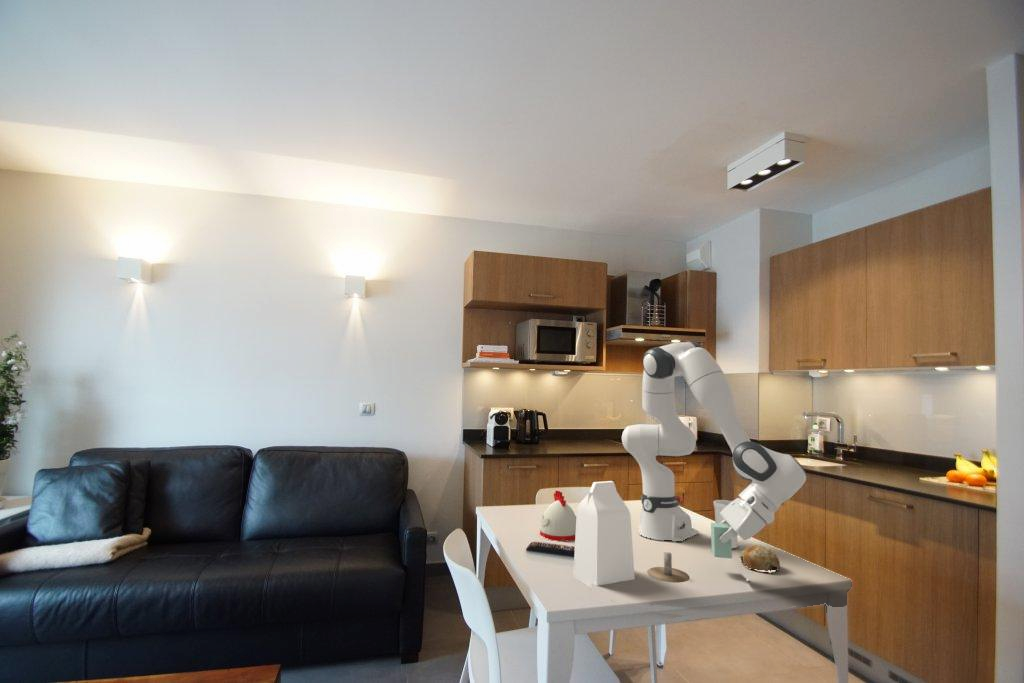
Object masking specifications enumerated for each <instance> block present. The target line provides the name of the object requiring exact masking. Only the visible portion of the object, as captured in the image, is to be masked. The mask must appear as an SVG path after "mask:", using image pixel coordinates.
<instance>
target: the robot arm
mask: <svg viewBox="0 0 1024 683" xmlns="http://www.w3.org/2000/svg"><path fill="white" fill-rule="evenodd" d="M642 368H643V373H642V380H641V381H642V382H641V384H642V385H641V389H642V390H641V392H642V393H641V394H642V395H641V399H642V400H641V401H642V402H641V403H642V405H641V407H642V409H643V412H644V413H646V415H647V416H649V417H650V418H653V419H655V420H657V421H658V422H659V424H658V423H657V424H652V423H651V424H649V423H647V424H646V423H638V424H632V425H627V426H626V427H625V428H624V430H623V431H622V435H621V442H622V447H624V449H625V450H626V452H628V453H629V454H630V455H631V456H632V457H633V458H634V459H635V461H636V462H637V463H638V465H639V468H640V471H641V472H640V473H641V482H642V492H641V497H640V499H641V507H640V515H639V524H638V525H637V529H639V530H638V531H637V532H638V533H637V534H639V535H640V536H641V535H642V537H644V538H646V537H647V538H648V539H650V538H651V539H650V540H654V541H655V540H656V541H664V540H672V541H671V542H676V541H682V542H684V541H686V540H685V539H687V538H689V539H691V538H693V537H695V536H694V535H696V534H698V535H699V534H700V533H699V531H698V530H697V529H696V528H694V527H692V524H693V523H692V519H691V516H690V515H689V514H688V513H687V512H686V511H684V510H683V509H682V508H681V506H679V502H680V503H681V502H683V500H684V497H683V496H682V495H679V494H677V495H676V494H675V492H676V491H675V490H676V489H675V488H676V487H675V484H676V482H675V474H674V472H673V470H671V469H670V468H669V467H668V466H666V465H664V464H662V463H660V462H659V461H657V459H656V457H658V456H665V457H666V456H667V457H668V456H669V457H682V456H687V455H689V456H690V455H691V454H692V453H693V452H694V450H695V448H696V446H697V439H696V436H695V433H694V432H693V431H692V429H691V428H690V427H689V426H687V425H686V424H684V422H682V420H681V419H680V417H679V416H678V414H677V410H676V400H675V378H677V377H680V376H682V377H683V378H684V380H685V383H686V384H687V386H688V388H689V389H690V390H689V391H690V392H691V393H692V395H693V396H694V398H695V400H697V402H698V403H699V405H700V406H701V407H702V408H703V410H705V412H706V413H707V414H708V415H709V416H710V417H711V418H712V420H713V421H714V422H715V423H716V425H717V426H718V428H719V430H720V431H721V434H722V435H723V437H724V439H725V441H726V442H727V445H728V446H729V449H730V451H731V454H732V466H733V469H734V471H735V473H736V474H737V475H738V477H740V478H741V479H743V480H744V481H747V482H750V484H749V485H747V486H746V488H744V489H743V491H741V492H740V493H739V494H738V497H737V498H735V499H734V500H731V501H732V502H731V503H730V504H728V505H727V506H726V507H725V508H724V509H723V510H722V511H721V512H720V515H721V516H722V517H723V518H724V520H723V521H722V522H721V523H722V524H728V525H729V526H730V528H729V529H728V531H726V532H725V533H724V534H723V533H722V534H721V535H720V536H719V539H720V540H721V541H722V542H723V543H726V542H727V541H728V540H730V539H732V538H734V537H736V536H737V535H738V536H739V537H740V538H741V539H742V540H743V541H748V540H750V539H751V538H753V537H754V536H755V535H757V534H758V533H759V532H760V531H761V530H763V529H764V528H765V527H766V525H771V524H772V523H774V521H775V512H777V511H778V510H779V509H780V507H781V505H782V504H783V503H784V502H786V501H788V500H789V499H791V497H793V496H794V495H795V494H796V493H797V492H798V491H799V490H800V489H801V488H802V487H803V486H804V484H805V483H806V481H807V473H806V470H805V469H804V467H803V466H802V465H801V463H800V462H799V461H798V460H797V459H796V458H795V457H793V456H792V455H790V454H788V453H781V452H778V451H774V450H772V449H769V448H767V447H765V446H763V445H761V443H760V444H759V443H757V442H755V441H751V440H750V437H749V436H748V434H747V432H746V430H745V429H744V427H743V425H742V423H741V421H740V419H739V417H738V414H737V411H736V408H735V401H734V394H733V391H732V387H731V385H730V382H729V381H728V378H727V376H726V375H725V372H724V371H723V370H722V368H721V366H720V365H719V363H718V362H717V360H716V359H715V358H714V357H713V356H712V355H711V353H710V352H709V351H708V350H707V349H706V348H704V347H703V346H702V344H700V343H699V342H695V341H685V342H674V343H673V342H672V343H669V344H665V345H662V346H654V347H652V348H649V349H648V350H646V351H645V353H644V354H643V357H642ZM692 536H693V537H692ZM696 536H697V535H696ZM690 537H691V538H690ZM683 540H684V541H683ZM687 540H688V539H687Z"/></svg>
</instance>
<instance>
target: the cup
mask: <svg viewBox="0 0 1024 683" xmlns="http://www.w3.org/2000/svg"><path fill="white" fill-rule="evenodd" d="M732 501H733V500H728V499H727V500H726V499H715V500H713V501H712V503H713V507H714V521H715V522H714V523H721V522H722V521H723V520H724V518H723V517H722V516H721V515H720V512H721V511H722V510H723V509H724V508H725V507H726V506H727V505H728V504H730V503H731V502H732ZM738 536H739V535H737V536H736V537H734V538H732V539H731V541H732V549H735V548H738V538H739V537H738Z"/></svg>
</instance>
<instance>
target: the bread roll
mask: <svg viewBox="0 0 1024 683" xmlns="http://www.w3.org/2000/svg"><path fill="white" fill-rule="evenodd" d="M739 558H740V561H741V564H742V563H743V564H742V565H743V567H744V566H747V567H748V568H751V569H757V570H765V571H768V570H770V571H771V570H777V569H779V568H780V569H781V563H780V560H779V558H778V556H777V555H776V553H775V552H773V551H772V550H771V548H769V547H765V546H763V545H758V544H756V545H750V546H748V547H746V548H745V549H744V550H742V552H741V553H740V555H739ZM748 568H747V569H748ZM780 569H779V570H780Z"/></svg>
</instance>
